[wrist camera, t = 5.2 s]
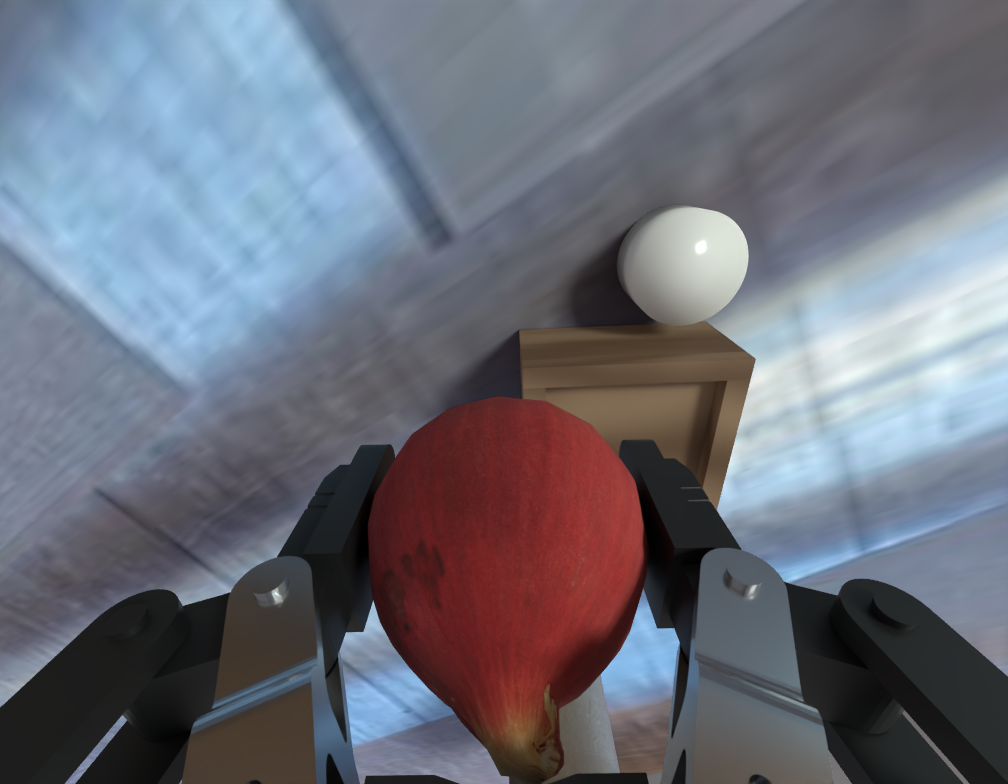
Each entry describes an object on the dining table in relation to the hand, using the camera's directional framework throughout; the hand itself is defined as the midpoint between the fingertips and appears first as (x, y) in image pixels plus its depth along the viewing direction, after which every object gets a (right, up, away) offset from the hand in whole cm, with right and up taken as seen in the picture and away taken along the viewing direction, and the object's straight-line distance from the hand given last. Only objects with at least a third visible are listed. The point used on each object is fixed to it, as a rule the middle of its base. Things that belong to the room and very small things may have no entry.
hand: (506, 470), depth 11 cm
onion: (0, +1, +2) cm, 2 cm away
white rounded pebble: (+10, +10, +14) cm, 20 cm away
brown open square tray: (+7, +1, +19) cm, 20 cm away
